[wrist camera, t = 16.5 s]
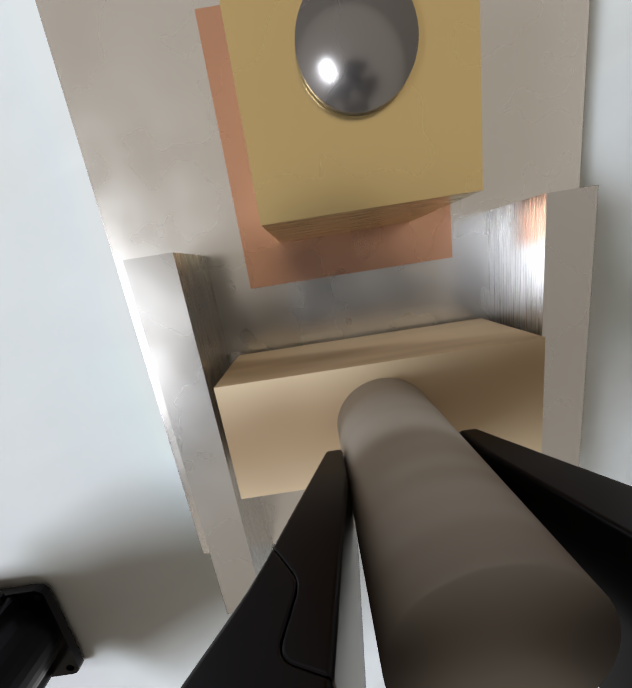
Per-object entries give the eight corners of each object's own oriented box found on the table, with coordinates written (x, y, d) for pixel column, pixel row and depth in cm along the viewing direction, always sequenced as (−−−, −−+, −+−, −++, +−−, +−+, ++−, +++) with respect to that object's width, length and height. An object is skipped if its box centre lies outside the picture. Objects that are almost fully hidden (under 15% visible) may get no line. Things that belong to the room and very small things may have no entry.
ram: (482, 407, 14) (858, 709, 4) (258, 440, 14) (154, 805, 4) (481, 318, 13) (963, 462, 3) (239, 355, 13) (54, 594, 3)
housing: (410, 222, 12) (487, 187, 7) (280, 242, 12) (259, 224, 7) (396, 30, 10) (483, -200, 5) (247, 55, 10) (190, -149, 5)
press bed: (539, 480, 17) (621, 556, 12) (212, 529, 17) (179, 620, 12) (561, -180, 10) (749, -510, 6) (34, -90, 10) (-161, -342, 6)
